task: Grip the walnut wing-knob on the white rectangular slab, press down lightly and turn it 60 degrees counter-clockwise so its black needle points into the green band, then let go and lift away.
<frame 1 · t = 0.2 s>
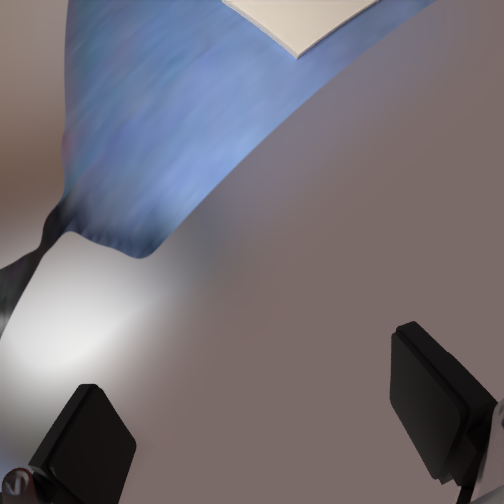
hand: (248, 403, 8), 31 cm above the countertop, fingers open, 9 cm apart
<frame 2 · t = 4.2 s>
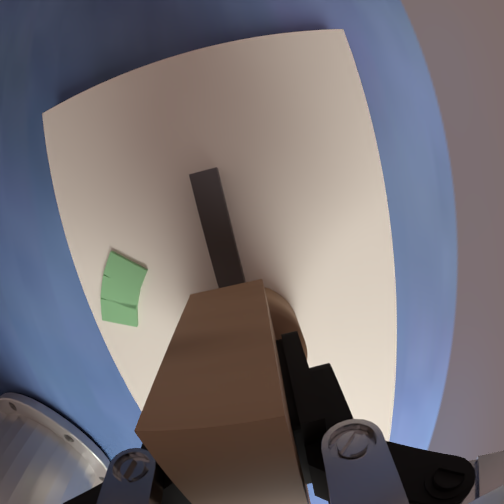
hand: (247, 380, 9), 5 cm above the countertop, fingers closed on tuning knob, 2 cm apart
tuning knob: (232, 346, 8), point 6 cm above the countertop, hinge at 0.0°, touching gripper
white rectangular slab: (246, 314, 14), on the countertop
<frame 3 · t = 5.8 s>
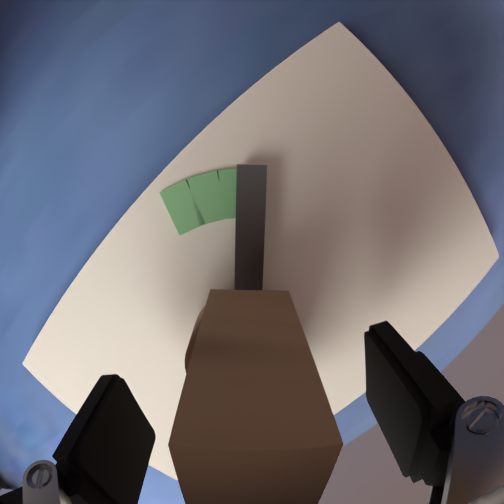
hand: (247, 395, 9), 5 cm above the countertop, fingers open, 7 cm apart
tuning knob: (249, 354, 8), point 6 cm above the countertop, hinge at 44.6°
white rectangular slab: (246, 318, 14), on the countertop
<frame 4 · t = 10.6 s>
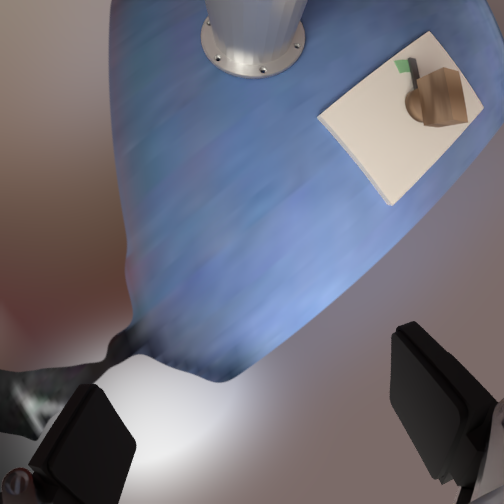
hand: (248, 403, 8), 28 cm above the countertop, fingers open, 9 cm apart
tuning knob: (433, 85, 26), point 6 cm above the countertop, hinge at 52.3°
white rectangular slab: (412, 108, 32), on the countertop
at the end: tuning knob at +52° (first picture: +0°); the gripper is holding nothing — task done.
